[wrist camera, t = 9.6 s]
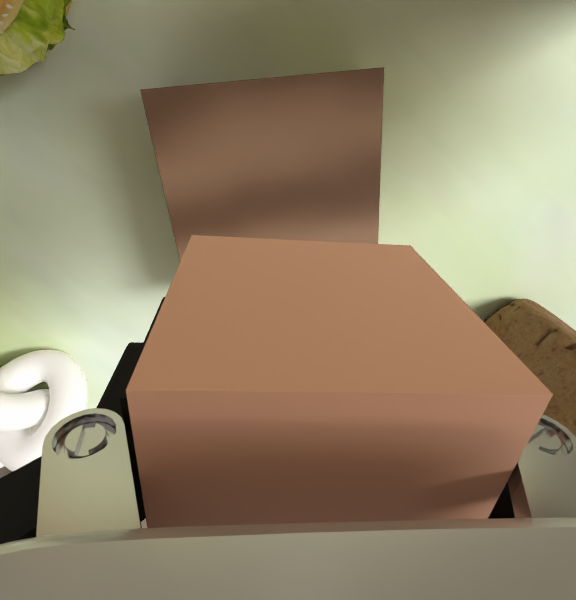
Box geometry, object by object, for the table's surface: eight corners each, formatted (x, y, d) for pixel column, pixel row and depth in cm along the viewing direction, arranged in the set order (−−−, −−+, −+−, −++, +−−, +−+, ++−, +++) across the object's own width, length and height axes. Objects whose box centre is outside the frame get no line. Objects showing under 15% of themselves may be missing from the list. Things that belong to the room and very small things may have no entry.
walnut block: (162, 88, 27) (140, 89, 22) (359, 70, 28) (384, 67, 23) (200, 269, 34) (190, 303, 29) (358, 253, 35) (376, 283, 29)
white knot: (82, 317, 35) (32, 384, 27) (121, 414, 41) (89, 491, 33) (-45, 332, 35) (-131, 403, 27) (13, 427, 41) (-45, 508, 33)
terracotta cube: (191, 235, 10) (126, 390, 5) (410, 245, 11) (553, 394, 6) (199, 404, 13) (161, 616, 8) (371, 405, 14) (442, 602, 9)
